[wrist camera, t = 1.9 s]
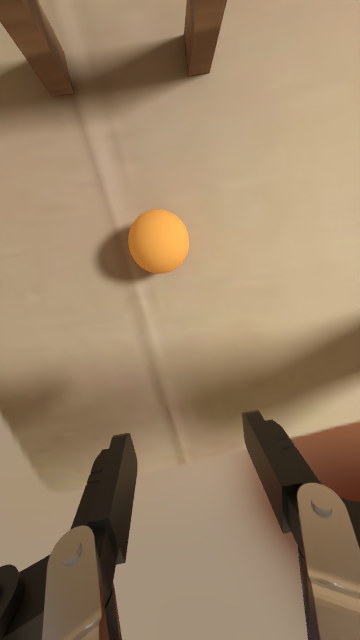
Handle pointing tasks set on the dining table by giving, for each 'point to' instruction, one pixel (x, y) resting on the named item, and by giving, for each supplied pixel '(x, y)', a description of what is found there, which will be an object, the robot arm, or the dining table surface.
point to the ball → (158, 241)
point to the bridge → (48, 56)
